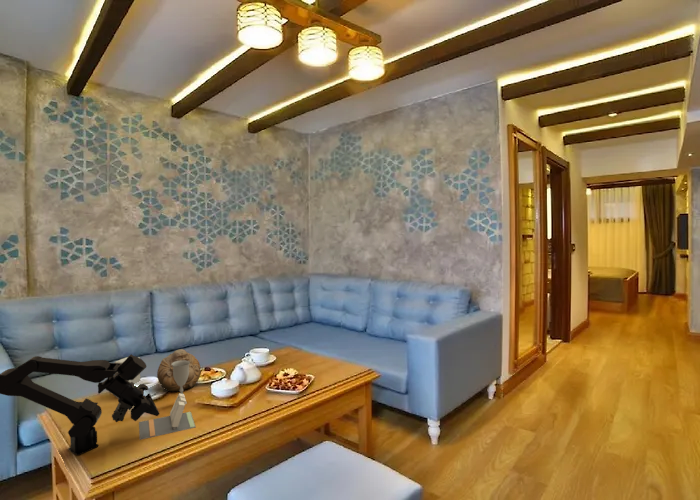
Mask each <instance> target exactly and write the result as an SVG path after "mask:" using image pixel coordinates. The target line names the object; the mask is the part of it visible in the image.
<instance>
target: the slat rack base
mask: <svg viewBox="0 0 700 500" xmlns="http://www.w3.org/2000/svg"><path fill="white" fill-rule="evenodd" d="M178 401H179V402H184V404H185V403H186V402H187V400H186V397H185V394H184V393H183V394H180V393H178V395H177V397H176V398H175V401H174V404H173V406H172V407H171V410H170V412H169V415H168V416H163V417H158V418H152V419H147V420H142V421H138V429H139V431H138V432H139V441H142V440H145V439H150V438H155V437H159V436H164V435H167V434H173V433H176V432H181V431H186V430H187V431H188V430H191V429H194V428H196V424H195V421H194V417H193V415H192V412H191V411H188V412H186V411H185V412H183V413H182V416H181V419H180V422H179V425H178V427H172V424H171V423H172V420H173V417H174V413H175V410H176V407H177V404H178ZM185 405H186V404H185Z"/></svg>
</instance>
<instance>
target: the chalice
mask: <svg viewBox="0 0 700 500" xmlns="http://www.w3.org/2000/svg"><path fill="white" fill-rule="evenodd" d="M189 364H190V361H186V360H181V361H176V362H173V363H172V366H173V377H174V379H175V381H176V383H177V385H178V386H180V390H179V391H178V392H180V394H184V393H183V392H184V390H183V385H185V383H186V381H187V379H188V376H189ZM186 404H188V402H187V401H186V403H185V405H186Z"/></svg>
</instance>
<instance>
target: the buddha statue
mask: <svg viewBox="0 0 700 500" xmlns="http://www.w3.org/2000/svg"><path fill="white" fill-rule="evenodd" d="M181 360H186V361H190V364H189V376H188V379H187V381H186V383H185V385H183V391H186V390H188V389H191V388H192V387H194V386H195V385H196V384H197V382H198V381H199V378H200V377H201V376H200V375H201V373H202V368H201V365H200V361H199V360H198V359H197V358H196V356H195V355H194V354H193V353H189V352H188V351H186V350H185V349H183V348H181V349H177V350H174V351H173V352H172V353H170V354H169V355H168V356H166V357H164V358H162V360H161V361H160V364H159V366H158V369H157V372H156V373H157V376H156V378H157V381H158V382H159V384H160V386H162V388H163V389H164V388H165V389H167V390H168V392H171V393H173V392H175V393H176V392H180V391H179V390H180V386H178V385H177V383H176V381H175V379H174V377H173V366H172V363H173V362H176V361H181ZM165 389H164V390H165ZM167 390H166V391H167Z"/></svg>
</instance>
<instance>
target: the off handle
mask: <svg viewBox="0 0 700 500" xmlns="http://www.w3.org/2000/svg"><path fill="white" fill-rule="evenodd" d="M185 407H186V404H184V402H179V401H178V404H177V407H176V410H175V413H174V417H173V420H172V423H171V424H172V427H178V425H179V422H180V419H181V416H182V413H184V410H185Z"/></svg>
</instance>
